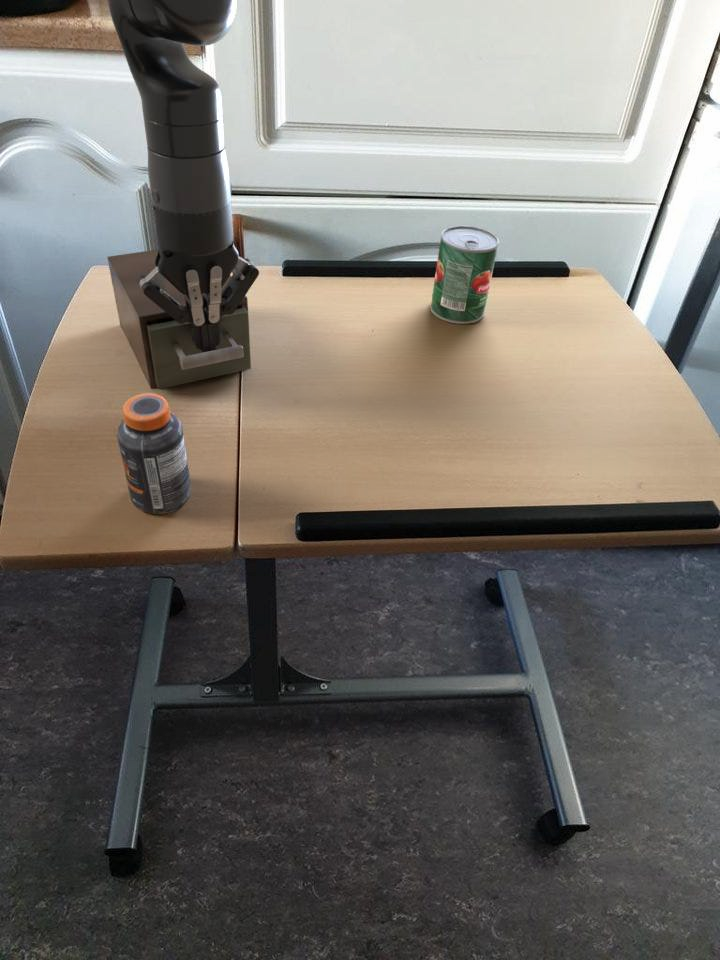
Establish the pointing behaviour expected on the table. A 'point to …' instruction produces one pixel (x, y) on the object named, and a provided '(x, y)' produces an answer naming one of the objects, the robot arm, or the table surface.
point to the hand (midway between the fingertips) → (206, 348)
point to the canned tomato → (463, 274)
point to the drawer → (198, 350)
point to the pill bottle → (153, 455)
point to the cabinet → (141, 304)
